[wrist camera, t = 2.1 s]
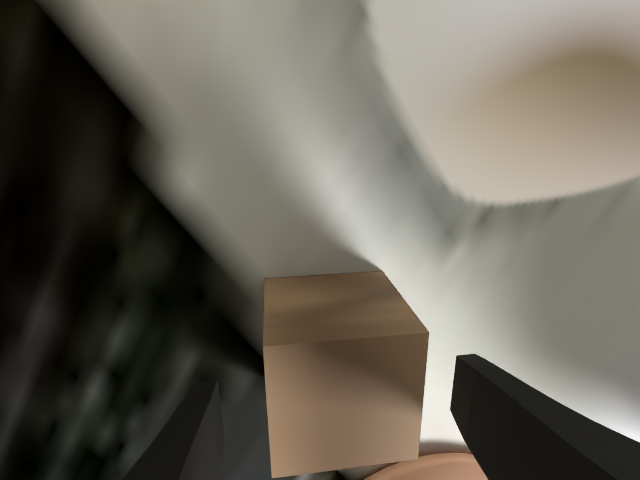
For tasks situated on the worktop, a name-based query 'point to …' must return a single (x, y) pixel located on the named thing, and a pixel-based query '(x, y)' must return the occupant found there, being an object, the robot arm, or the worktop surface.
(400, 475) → the terracotta dish
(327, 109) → the worktop surface
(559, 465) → the robot arm
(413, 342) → the walnut block
